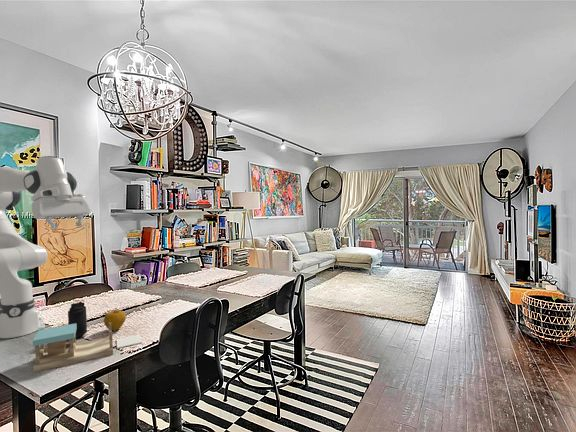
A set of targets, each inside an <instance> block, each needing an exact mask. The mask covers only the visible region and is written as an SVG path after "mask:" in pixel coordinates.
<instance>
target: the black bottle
mask: <svg viewBox="0 0 576 432" xmlns="http://www.w3.org/2000/svg"><path fill="white" fill-rule="evenodd" d="M87 320H88V318H87V306H85V302H82V301H79V302H76V303H71V304H70V308H69V309H68V311H67V321H68V322H67V323H68V324H67V325H70V324H75V323H76V324H77V329H76V339H79V338H82V336H83V335H86V333H88V326H87V325H88V323H87ZM83 337H84V336H83Z"/></svg>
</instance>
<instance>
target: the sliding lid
mask: <svg viewBox="0 0 576 432" xmlns="http://www.w3.org/2000/svg"><path fill="white" fill-rule="evenodd" d="M76 329H77V324H76V323H75V324H70V325H69V324H64V325H61V326H60V325H59V326H58V325H57V326H53V327H48V328H43V329H40V330H37V331H36V334H35V336H34V338H33V339H32V347H35V346H37V345H39V346H40V345H42V344H44V345H47V344H48V343H53V342H58V341H63V340H66V341H68V340H70V339H73V338H75V334H76Z"/></svg>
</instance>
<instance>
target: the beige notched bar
mask: <svg viewBox="0 0 576 432" xmlns="http://www.w3.org/2000/svg"><path fill="white" fill-rule="evenodd" d="M113 342H114V341H113V331H112V325H111V323H109V329H108V336H107V337H102V338H101V337H100V338H97V339H93V340H87V341H82V342H78V343H77V338H76V334H75V338H73V339H69V342H66V353H63V354H58V355H53V356H49V357H48V350H47V346H46V347H45V344H42V345H37V346H34V347H35V348H34V350H35V351H34V352H35V363H34V365H33V373H39V372H41V371H46V370H51V369H55V368H59V367H65V366H68V365H72V364H77V363H81V362H86V361H91V360H95V359H98V358H99V359H100V358H102V357H108V356H111V355H114V345H113Z"/></svg>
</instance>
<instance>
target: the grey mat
mask: <svg viewBox="0 0 576 432" xmlns="http://www.w3.org/2000/svg"><path fill="white" fill-rule="evenodd" d="M116 341H117V342H116V349H117V350H118V349H122V347H123V348H127V347H131V346H130V345H132V346H136V345H140V344H143V341H142V337H141V334H136V335H130V336H126V337H122V338H116ZM126 346H127V347H126Z"/></svg>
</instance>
